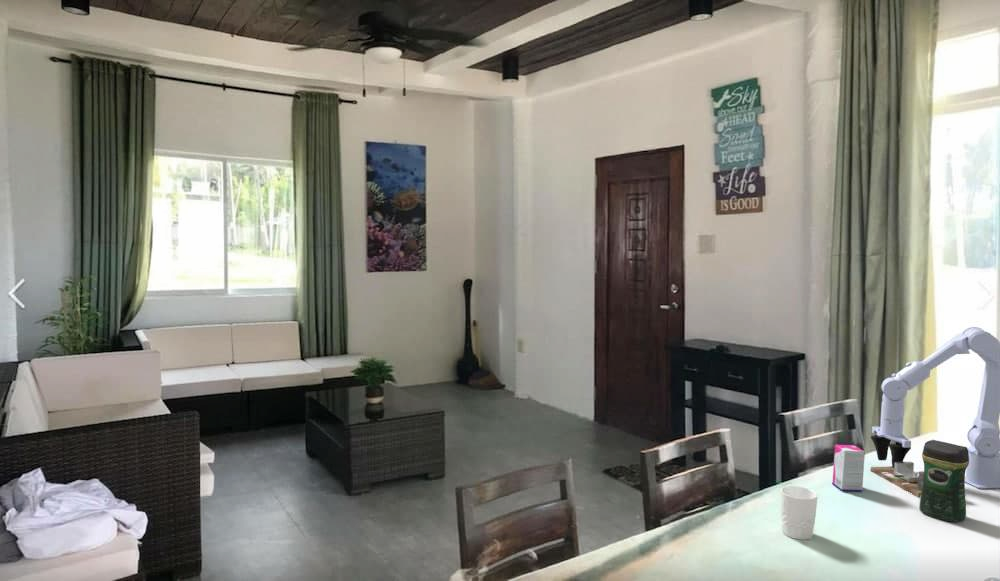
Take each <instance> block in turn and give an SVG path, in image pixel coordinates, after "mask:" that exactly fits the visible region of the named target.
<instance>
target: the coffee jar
mask: <svg viewBox="0 0 1000 581" xmlns="http://www.w3.org/2000/svg"><path fill="white" fill-rule="evenodd" d="M921 458H922V461H923V465H924V466H923V471H924V478H923V485H922V491H921V497H919V504H918V509H919V511H920V512H921V513H923V514H925V515H928V516H930V517H933V518H937V519H939V520H944V521H948V522H962V521H963V520H965V519H966V517H967V502H966V500H967V499H966V485H965V483H966V482H965V477H966V469H967V467H968V465H969V453H968V447H967V446H964V445H959V444H954V443H950V442H945V441H941V440H936V439H931V440H927V441H926V442H925V443H924V445H923V449H922V454H921Z"/></svg>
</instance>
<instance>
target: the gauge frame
mask: <svg viewBox="0 0 1000 581" xmlns="http://www.w3.org/2000/svg"><path fill="white" fill-rule="evenodd" d="M870 472H871V473H874V474H876V475H877V476H879V477H881V478H882V479H884V480H886V481H888V482H890V483H891V484H893V485H895V486H897V487H898V488H900V489H902V490H904V491H906V492H907V491H908V492H907V493H909V492H910V493H909V494H911V493H912V494H911V495H913V496H915V497H917V498H920V497H921V491H922V485H923V478H924V470H922V471H918V472H919V475H918V482H907V481H906V480H904V479H902V478H900V477H894V468H893V467H892V466H871V467H870Z"/></svg>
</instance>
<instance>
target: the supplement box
mask: <svg viewBox="0 0 1000 581" xmlns="http://www.w3.org/2000/svg"><path fill="white" fill-rule="evenodd" d="M865 452H866V451H865V450H863V449H861V448H860V447H859V446H857V445H855V444H853V445H852V444H835V445H834V453H833V454H834V456H833V457H834V458H833V470H832V471H833V472H832V485H833V486H834V487H835V488H837V489H838V490H839V491H840V492H845V493H846V492H847V493H848V492H851V493H854V492H855V493H856V492H857V493H862V492H863V487H864V486H863V485H864V484H863V483H864V472H865V471H864V470H865V467H864V466H865V456H866V455H865V454H866V453H865Z"/></svg>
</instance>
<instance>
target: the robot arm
mask: <svg viewBox="0 0 1000 581" xmlns="http://www.w3.org/2000/svg"><path fill="white" fill-rule="evenodd" d="M970 351H972V352H974V353H975V354H977V355H978V356H979V357H980V358H981V359H982V361H983V362H984V363H985V366H984V371H983V378H982V383H981V388H980V389H981V390H980V396H979V402H978V407H977V414H976V417H975V418H974V420H973V422H972V425H971V427H970V429H968V431H967V434H966V436H967V440H968V441H969V443H970V446H968V447H967V449H968V453H969V465H968V467H967V468H966V471H965V483H966V484H968V485H970V486H973V487H974V488H977V489H980V490H981V489H983V490H984V489H985V490H986V489H1000V424H999V421H1000V341H999V339H997V337H995V336H994V335H993V334H991V333H990V332H988V331H985V330H984V329H982V328H980V327H977V326H976V327H975V326H972V327H971V326H970V327H967V328H966V329H964V330H963V331H962V332H959V333H957V334H955V335H954V336H953V337H952V338H950V339H949V340H948V341H946V343H944V344H942V345H941V346H940V347H939V348H937V349H936V350H935V351H933V352H932V353H931V354H930V355H928V356H927V357H925V359H922V361H920V360H919V361H917V360H913V362H910V361H908V362H907V363H906V364H905V367H904V368H902V369H901V370H899V371H898V372H897V373H892V374H891V377H887V378H885V379H884V380H883V381H882V383H881V385H880V390H881V391H882V392H883V393H882V397H881V398H882V399H881V408H880V409H881V410H880V426H878V425H877V426H876V425H875V426H872V427H871V428H872V429H871V433H872V434H875V435H871V436H870V440H872V442H873V444H874V447H875V451H876V455H877V459H878V461H887V458H888V454H889V450H890V454H891V465H892V467H893V468H894V465H895V462H904V459H905V458H906V455H907V454H908V453H909V452H910V450H911V449H912V441H911V440H910V439H908V438H907V437H906V436H905V435H904V434H903V428H904V427H903V426H904V414H905V413H904V412H905V404H904V402H905V401H904V399H905V398H906V396H907V395H908V391H911V390H913V389H914V388H915V387H917V386H919V385H920V384H922V383H923V382H924V381H926V380H927V379H928V378H930V377H931V376H930V374H931V372H932V371H933V369H936V367H938V366H940V365H941V364H943V363H944V362H946V361H949V359H951V358H953V357H955V355H969V354H971V352H970ZM891 442H894V443H891Z"/></svg>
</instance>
